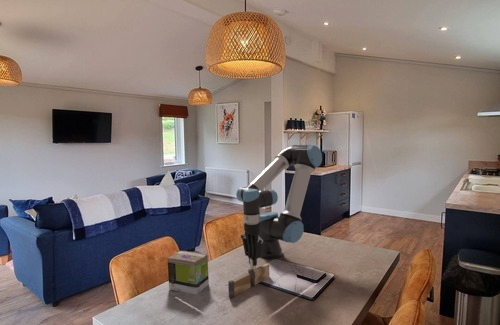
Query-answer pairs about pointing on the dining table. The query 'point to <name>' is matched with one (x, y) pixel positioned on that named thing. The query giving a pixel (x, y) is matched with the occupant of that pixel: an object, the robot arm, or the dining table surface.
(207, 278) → the tea box
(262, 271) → the swing panel
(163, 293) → the dining table surface
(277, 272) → the dining table surface
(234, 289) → the fixed fence panel
